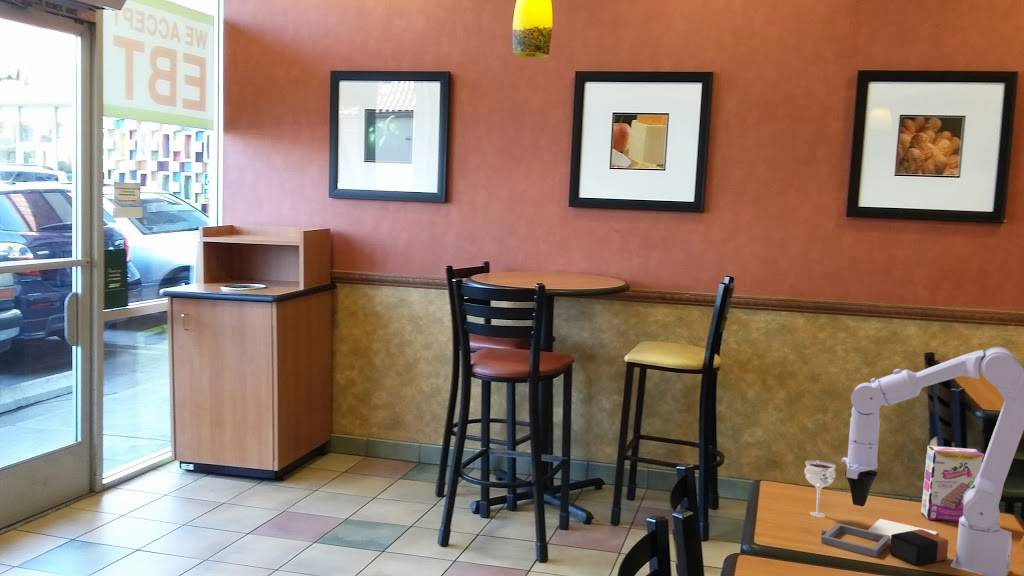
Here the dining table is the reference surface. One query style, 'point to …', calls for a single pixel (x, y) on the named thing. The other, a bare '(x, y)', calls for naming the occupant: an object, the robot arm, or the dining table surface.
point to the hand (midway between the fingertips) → (858, 504)
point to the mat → (893, 528)
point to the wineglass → (819, 477)
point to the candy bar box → (948, 481)
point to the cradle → (874, 552)
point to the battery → (919, 547)
